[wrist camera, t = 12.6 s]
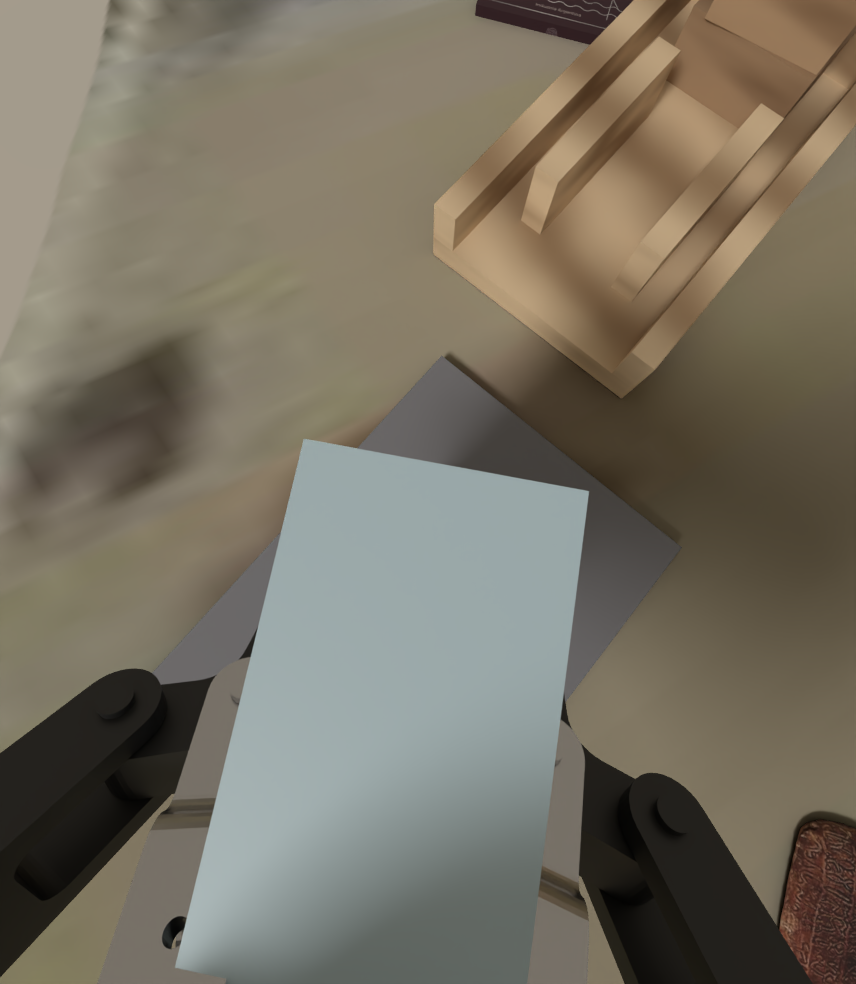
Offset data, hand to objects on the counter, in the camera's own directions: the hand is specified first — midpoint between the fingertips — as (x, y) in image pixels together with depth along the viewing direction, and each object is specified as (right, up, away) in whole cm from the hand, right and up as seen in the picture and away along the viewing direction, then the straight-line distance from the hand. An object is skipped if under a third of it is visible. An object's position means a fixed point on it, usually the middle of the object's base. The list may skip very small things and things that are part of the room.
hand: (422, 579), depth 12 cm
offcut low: (+16, +24, +12) cm, 31 cm away
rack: (+12, +19, +12) cm, 26 cm away
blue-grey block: (0, -3, +6) cm, 7 cm away
